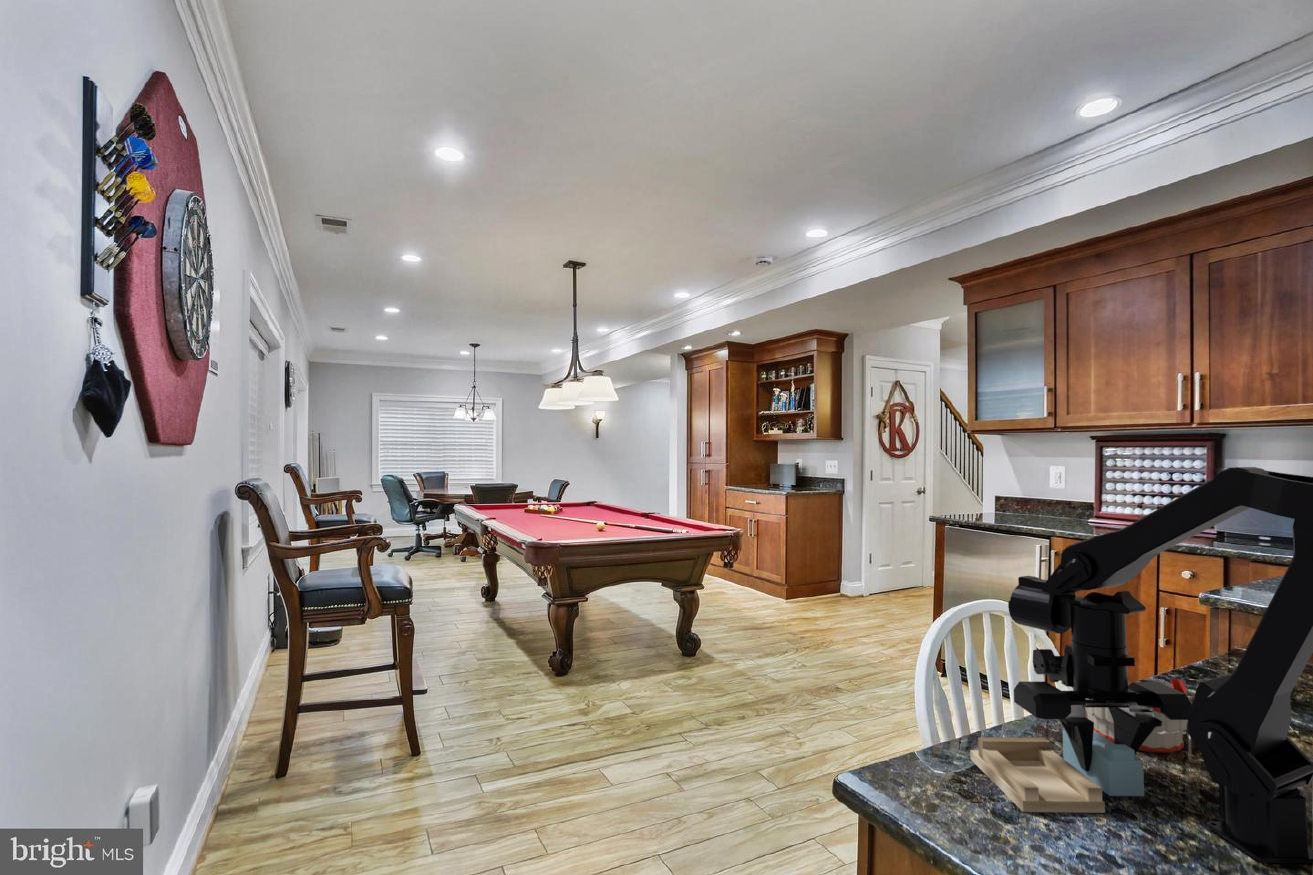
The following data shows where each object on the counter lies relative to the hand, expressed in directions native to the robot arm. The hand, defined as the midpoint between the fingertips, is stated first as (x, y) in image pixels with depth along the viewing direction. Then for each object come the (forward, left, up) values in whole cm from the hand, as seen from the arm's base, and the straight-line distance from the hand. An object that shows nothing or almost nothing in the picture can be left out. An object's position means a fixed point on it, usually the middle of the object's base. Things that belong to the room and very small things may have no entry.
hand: (1102, 769), depth 80 cm
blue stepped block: (0, 0, -1) cm, 1 cm away
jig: (-2, +9, -1) cm, 10 cm away
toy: (+11, -12, -1) cm, 16 cm away
